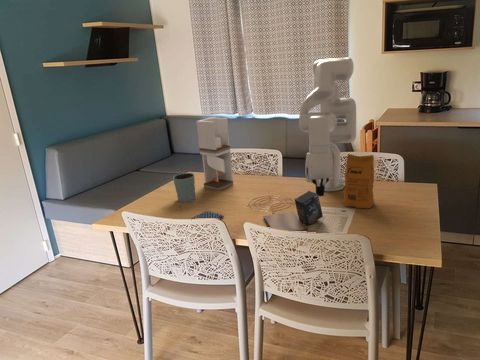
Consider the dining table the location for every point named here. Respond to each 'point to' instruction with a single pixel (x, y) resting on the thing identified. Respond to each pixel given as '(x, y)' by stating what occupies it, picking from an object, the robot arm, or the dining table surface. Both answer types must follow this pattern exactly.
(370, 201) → the coffee package
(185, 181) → the teal cup
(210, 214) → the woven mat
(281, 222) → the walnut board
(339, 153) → the robot arm
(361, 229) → the dining table surface
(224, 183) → the white drip coffee maker
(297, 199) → the box
